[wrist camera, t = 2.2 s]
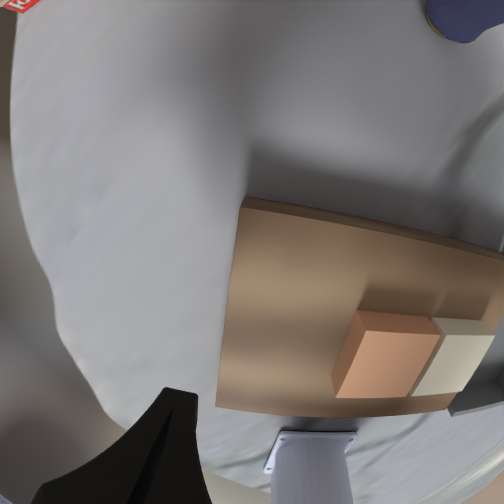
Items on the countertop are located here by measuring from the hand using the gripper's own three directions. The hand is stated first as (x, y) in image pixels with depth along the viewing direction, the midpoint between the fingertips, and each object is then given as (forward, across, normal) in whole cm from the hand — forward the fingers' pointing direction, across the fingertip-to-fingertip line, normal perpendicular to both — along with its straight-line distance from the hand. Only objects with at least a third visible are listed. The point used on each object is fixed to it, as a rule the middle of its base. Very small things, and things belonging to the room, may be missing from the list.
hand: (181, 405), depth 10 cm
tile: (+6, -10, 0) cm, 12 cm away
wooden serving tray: (+9, -11, 0) cm, 14 cm away
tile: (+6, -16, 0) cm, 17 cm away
